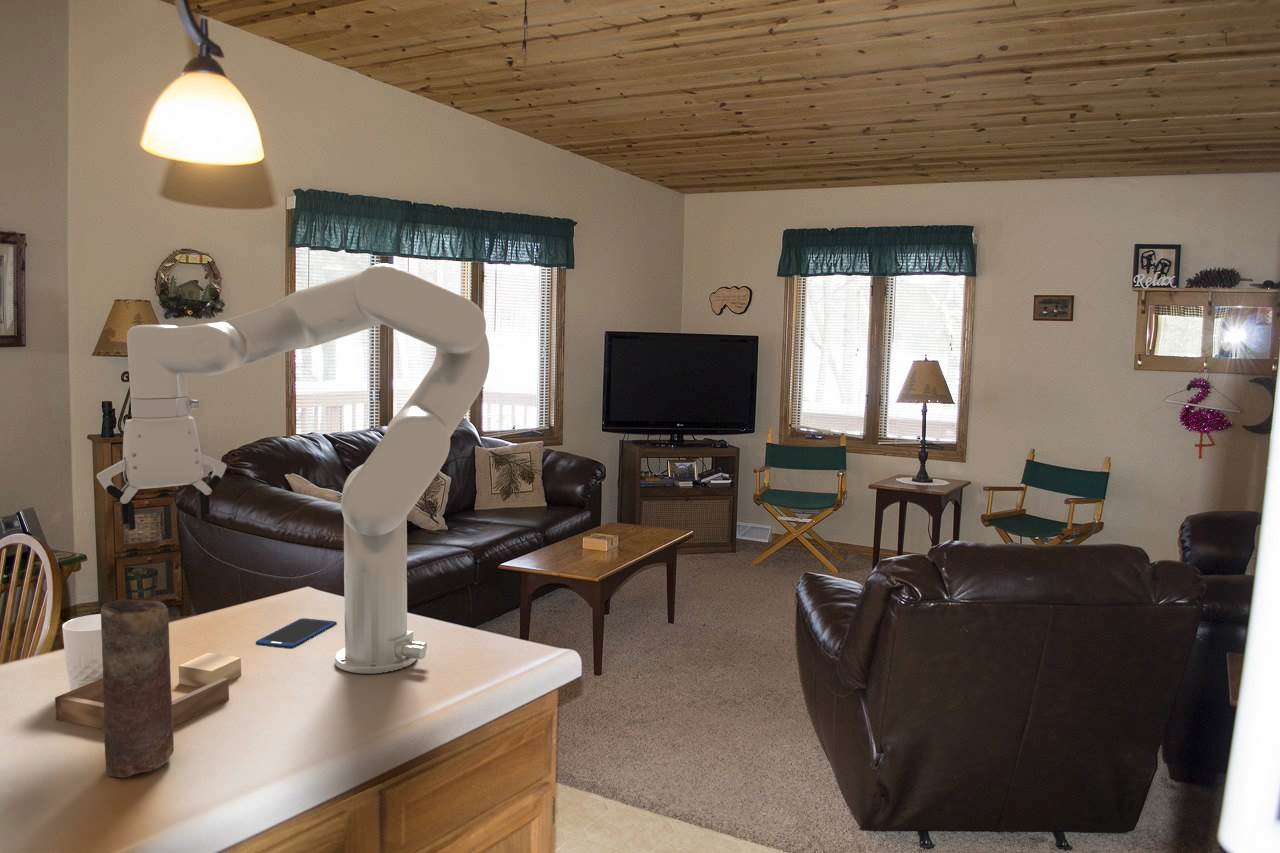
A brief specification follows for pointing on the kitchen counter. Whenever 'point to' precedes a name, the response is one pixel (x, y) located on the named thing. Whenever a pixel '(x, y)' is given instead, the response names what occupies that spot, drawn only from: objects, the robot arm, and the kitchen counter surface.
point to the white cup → (83, 650)
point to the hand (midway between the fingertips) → (166, 524)
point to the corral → (89, 703)
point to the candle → (136, 686)
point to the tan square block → (209, 669)
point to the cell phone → (296, 633)
